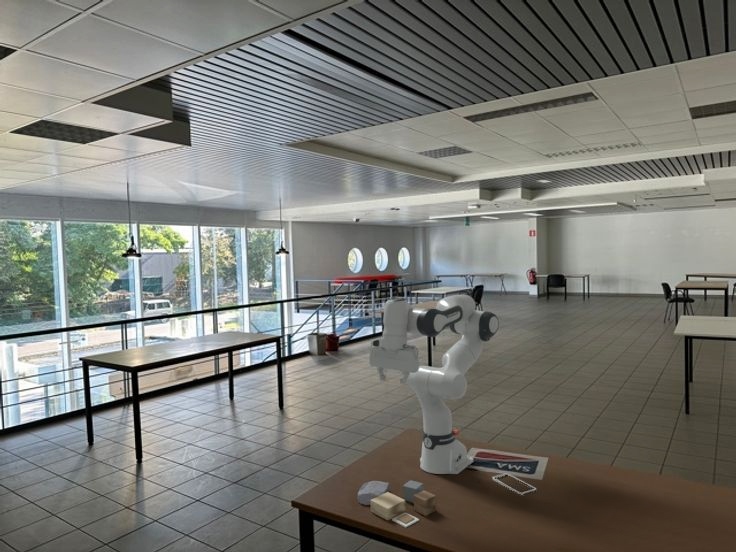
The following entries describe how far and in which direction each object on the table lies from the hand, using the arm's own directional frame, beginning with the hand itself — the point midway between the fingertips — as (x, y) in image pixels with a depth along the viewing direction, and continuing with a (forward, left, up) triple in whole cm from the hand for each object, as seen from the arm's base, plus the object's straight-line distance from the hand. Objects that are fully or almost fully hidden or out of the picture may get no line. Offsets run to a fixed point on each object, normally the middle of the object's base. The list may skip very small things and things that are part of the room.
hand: (392, 382), depth 174 cm
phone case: (-32, +28, -39) cm, 57 cm away
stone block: (+10, -1, -39) cm, 40 cm away
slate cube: (+1, +10, -38) cm, 39 cm away
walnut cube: (+4, +18, -38) cm, 42 cm away
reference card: (+13, +18, -38) cm, 44 cm away
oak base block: (+13, +10, -38) cm, 42 cm away
